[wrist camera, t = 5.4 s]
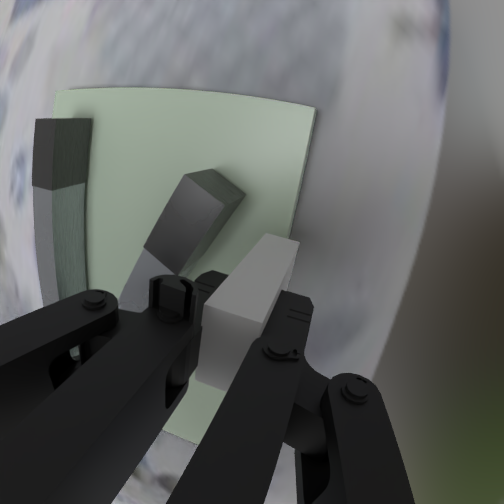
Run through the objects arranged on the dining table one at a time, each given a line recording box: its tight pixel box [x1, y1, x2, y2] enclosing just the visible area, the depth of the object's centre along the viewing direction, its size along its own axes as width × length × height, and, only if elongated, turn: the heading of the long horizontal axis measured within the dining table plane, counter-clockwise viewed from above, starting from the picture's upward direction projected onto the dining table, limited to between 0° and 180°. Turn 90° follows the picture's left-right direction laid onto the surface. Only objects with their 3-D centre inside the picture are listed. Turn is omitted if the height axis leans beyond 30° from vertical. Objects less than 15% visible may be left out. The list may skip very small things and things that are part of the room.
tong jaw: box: [118, 168, 246, 313], centre depth 17 cm, size 2×17×3 cm, turn 145°
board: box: [52, 88, 317, 445], centre depth 20 cm, size 17×26×1 cm, turn 170°
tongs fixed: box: [32, 118, 92, 357], centre depth 19 cm, size 5×24×4 cm, turn 170°
